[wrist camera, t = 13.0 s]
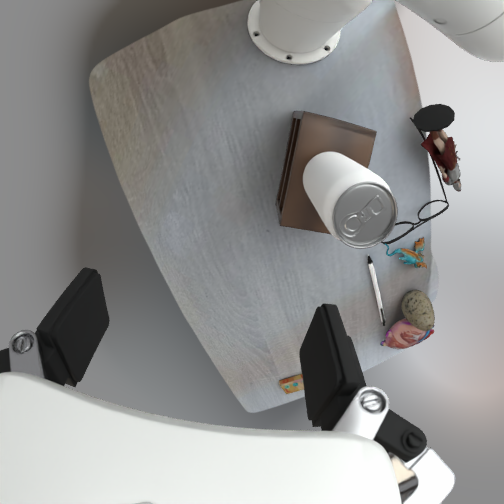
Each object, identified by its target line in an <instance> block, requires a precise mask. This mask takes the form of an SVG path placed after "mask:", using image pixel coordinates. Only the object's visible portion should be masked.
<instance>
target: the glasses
mask: <svg viewBox="0 0 504 504" xmlns="http://www.w3.org/2000/svg"><path fill="white" fill-rule="evenodd" d="M410 119H411V121H412V122H413V119H412V118H411V117H410ZM418 130H419V129H418ZM419 132H420V134H421V136H422V138H423V140H424V141H425V138H424V136H423V134H422V132H421V130H419ZM429 154H430V153H429ZM430 156H431V155H430ZM431 158H432V156H431ZM432 161H433V164H434V167H435V169H436V172H437V175H438V178H439V181H440V184H441V187H442V190H443V193H444V196H445V199H446V195H445V192H444V188H443V185H442V182H441V178H440V175H439V173H438V170H437V167H436V164H435V161H434V159H433V158H432ZM435 201H442V202H445V203H447V204H448V202H447V199H446V201H443V200H434V201H431V202H428V203H427V204H425V205H424V206H423V207H422V208H421V209H420V210H419V212H418V218H419V213H420V212H421V210H422V209H423V208H424V207H425V206H426V205H428V204H430V203H432V202H435ZM448 207H449V204H448V205H447V206H446V207H445V208H444V209H443V210H442V211H440V212H439V213H437V214H435V215H433V216H431V217H429V218H426V219H420V218H419V220H420V221H419V222H418V223H415V224H414V223H412V222H407V221H404V222H399V223H396V224H395V225H399V224H412V225H413V226H412V228H411V229H410V230H408V231H407V232H406V233H404V234H403V235H401V236H399V237H397V238H395V239H393V240H391V241H388V242H381V243H383V244H391V243H393V242H395V241H397V240H399V239H400V238H402V237H404V236H405V235H407V234H408V233H409V232H411V231H412V230H414V229H415V228H417V227H418V226H420V225H422V224H423V223H425V222H427V221H428V220H430V219H432V218H434V217H436V216H438V215H439V214H441V213H443V212H444V211H445V210H446V209H448ZM421 221H424V222H422V223H421V224H419V223H420V222H421ZM417 224H419V225H417ZM414 225H417V226H416V227H414Z"/></svg>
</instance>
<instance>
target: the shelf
mask: <svg viewBox="0 0 504 504" xmlns="http://www.w3.org/2000/svg"><path fill="white" fill-rule="evenodd" d="M376 133H377V131H374V130H371V129H368V128H365V127H362V126H358V125H355V124H352V123H348V122H345V121H341V120H338V119H334V118H330V117H326V116H322V115H318V114H314V113H310V112H305V111H294V112H293V117H292V123H291V128H290V133H289V138H288V144H287V149H286V154H285V159H284V164H283V169H282V174H281V179H280V184H279V189H278V194H277V199H276V208H277V213H278V218H279V223H280V226H285V227H291V228H297V229H303V230H309V231H315V232H321V233H327V234H331V233H330V232H329V230H328V229H327V227H326V226H325V224H324V222H323V221H322V219H321V217H320V216H319V214H318V212H317V210H316V209H315V207H314V205H313V204H312V202H311V200H310V198H309V197H308V195H307V193H306V191H305V189H304V185H303V173H304V170H305V167H306V165H307V164H308V162H309V161H310V160H311V159H312V158H313V157H315V156H316V155H318V154H320V153H323V152H337V153H340V154H342V155H344V156H346V157H348V158H350V159H352V160H353V161H355V162H357V163H358V164H360V165H362V166H363V167H365V168H367V169H368V166H369V162H370V158H371V154H372V150H373V145H374V141H375V137H376Z"/></svg>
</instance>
